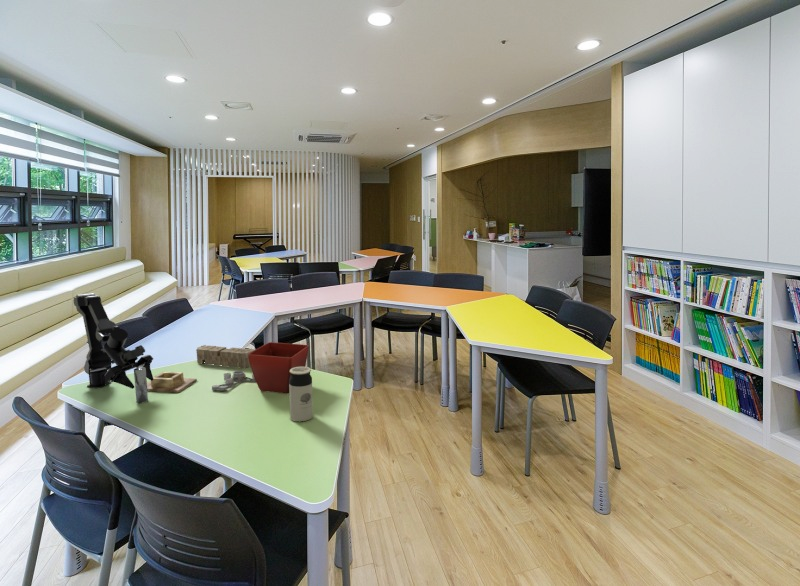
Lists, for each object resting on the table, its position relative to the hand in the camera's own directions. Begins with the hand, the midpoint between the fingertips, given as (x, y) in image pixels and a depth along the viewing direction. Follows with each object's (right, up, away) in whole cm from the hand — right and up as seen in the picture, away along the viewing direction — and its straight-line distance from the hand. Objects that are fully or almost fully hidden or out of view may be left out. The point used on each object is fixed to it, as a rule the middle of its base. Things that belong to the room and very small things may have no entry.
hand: (143, 383), depth 181 cm
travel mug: (+64, -10, -12) cm, 66 cm away
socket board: (0, -4, +18) cm, 19 cm away
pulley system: (+30, -4, +24) cm, 39 cm away
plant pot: (+49, -5, +17) cm, 52 cm away
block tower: (+13, 0, +49) cm, 50 cm away
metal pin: (-1, -7, +1) cm, 7 cm away
